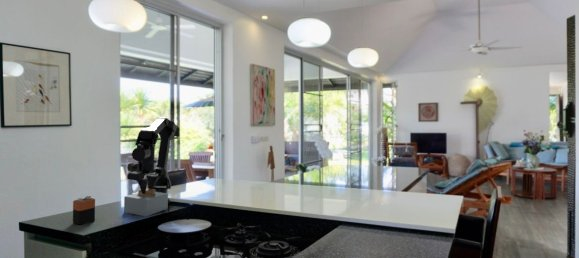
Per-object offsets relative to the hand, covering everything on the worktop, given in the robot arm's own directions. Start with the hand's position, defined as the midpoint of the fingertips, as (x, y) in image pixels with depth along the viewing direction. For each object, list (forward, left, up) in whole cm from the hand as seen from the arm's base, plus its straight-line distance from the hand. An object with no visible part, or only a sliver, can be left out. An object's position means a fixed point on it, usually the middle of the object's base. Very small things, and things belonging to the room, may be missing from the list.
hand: (146, 192), depth 173 cm
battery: (+25, -9, -8) cm, 28 cm away
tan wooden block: (0, 0, -2) cm, 2 cm away
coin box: (0, 0, -8) cm, 8 cm away
